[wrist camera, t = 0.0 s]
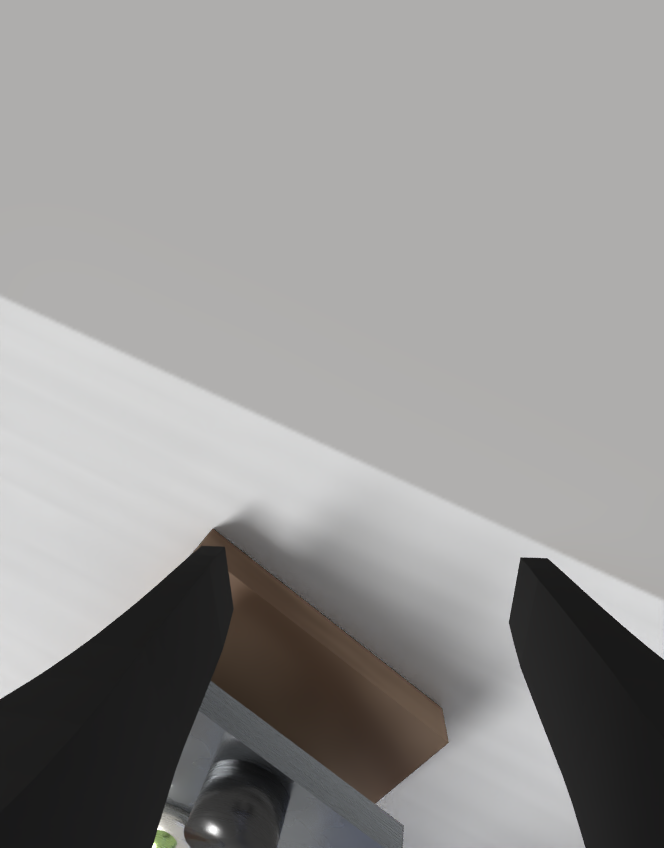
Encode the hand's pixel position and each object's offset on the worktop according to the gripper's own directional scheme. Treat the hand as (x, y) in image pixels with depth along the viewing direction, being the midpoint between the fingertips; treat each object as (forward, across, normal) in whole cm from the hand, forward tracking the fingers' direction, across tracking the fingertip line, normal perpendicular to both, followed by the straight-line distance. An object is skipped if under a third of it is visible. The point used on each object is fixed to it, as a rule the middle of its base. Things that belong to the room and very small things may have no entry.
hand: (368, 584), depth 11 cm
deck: (+4, +8, +17) cm, 19 cm away
